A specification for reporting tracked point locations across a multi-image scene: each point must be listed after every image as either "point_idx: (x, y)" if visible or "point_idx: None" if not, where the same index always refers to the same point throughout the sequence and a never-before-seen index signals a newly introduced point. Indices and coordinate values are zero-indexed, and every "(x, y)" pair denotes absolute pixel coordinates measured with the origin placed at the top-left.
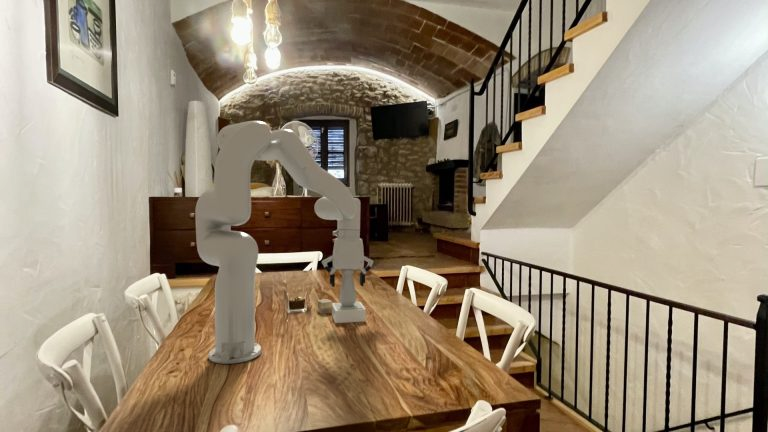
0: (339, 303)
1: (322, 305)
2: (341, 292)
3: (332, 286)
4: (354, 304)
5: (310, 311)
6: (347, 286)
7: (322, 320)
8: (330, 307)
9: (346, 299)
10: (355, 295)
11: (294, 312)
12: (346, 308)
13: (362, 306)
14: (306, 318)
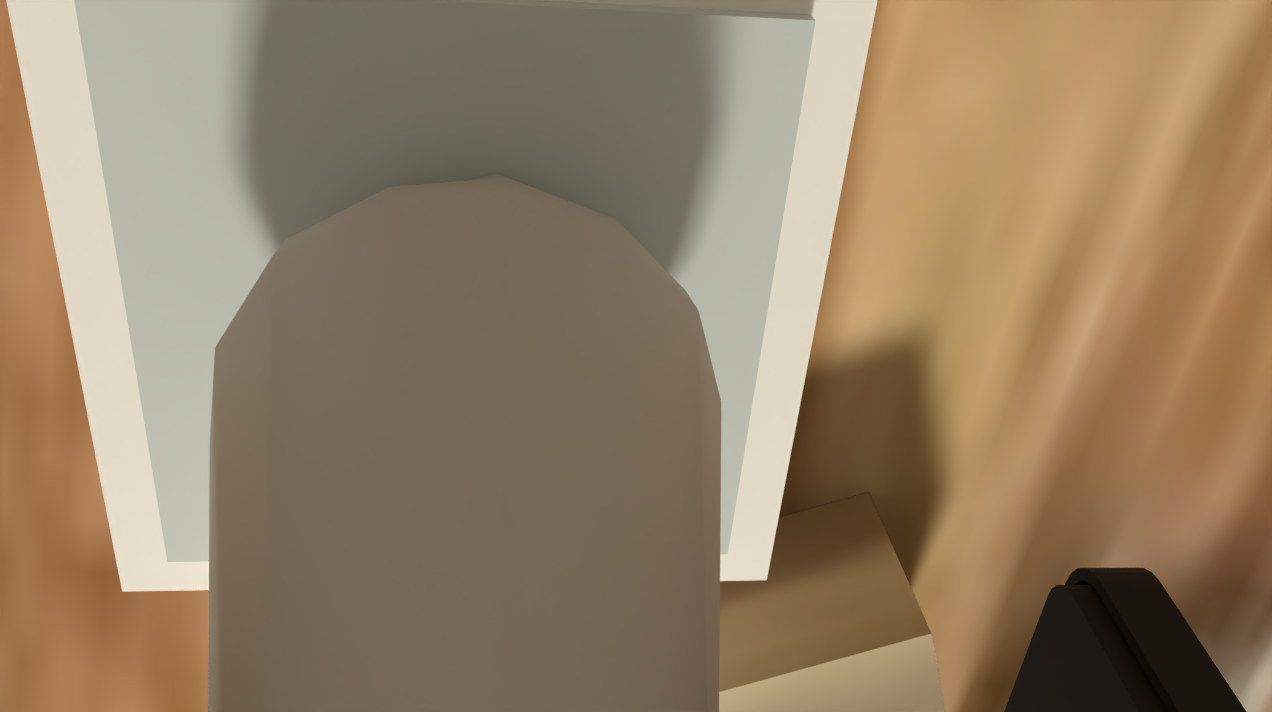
0: None
1: (909, 598)
2: (707, 485)
3: (1139, 574)
4: None
5: (995, 633)
6: (536, 545)
7: (982, 146)
8: (735, 598)
9: (561, 223)
10: (234, 382)
11: (1224, 623)
12: (561, 51)
13: (85, 207)
14: (1190, 319)
